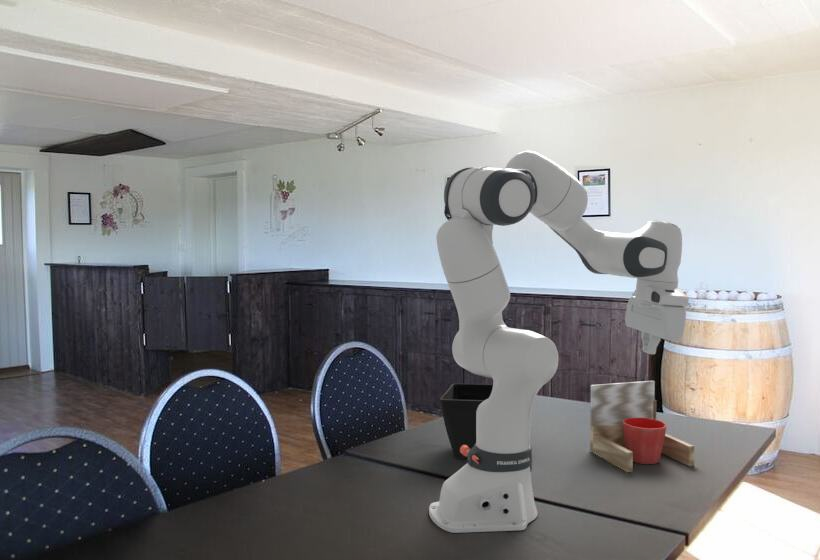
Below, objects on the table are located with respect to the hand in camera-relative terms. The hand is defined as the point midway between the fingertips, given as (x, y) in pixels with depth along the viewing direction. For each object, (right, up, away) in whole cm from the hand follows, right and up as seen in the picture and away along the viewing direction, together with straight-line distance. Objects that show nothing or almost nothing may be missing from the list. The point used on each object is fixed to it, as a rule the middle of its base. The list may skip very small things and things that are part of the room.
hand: (648, 353), depth 157 cm
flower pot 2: (+6, -30, +20) cm, 36 cm away
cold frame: (+5, -30, +20) cm, 36 cm away
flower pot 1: (-36, -30, +26) cm, 53 cm away
